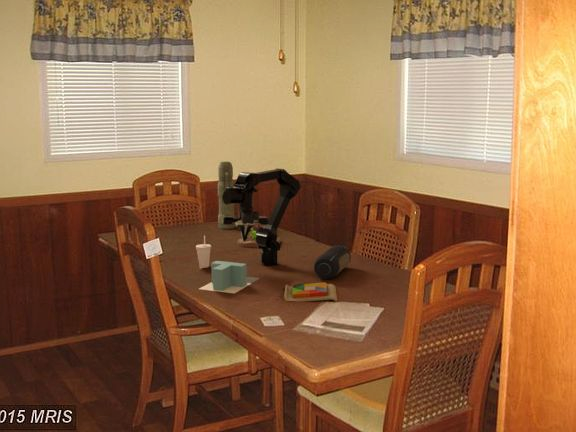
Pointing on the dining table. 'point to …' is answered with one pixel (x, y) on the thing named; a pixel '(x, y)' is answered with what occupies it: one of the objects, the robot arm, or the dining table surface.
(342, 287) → the dining table surface
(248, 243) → the plant
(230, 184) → the thermos
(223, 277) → the t block
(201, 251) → the smoothie
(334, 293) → the wooden puzzle
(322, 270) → the portable speaker
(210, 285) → the mat
